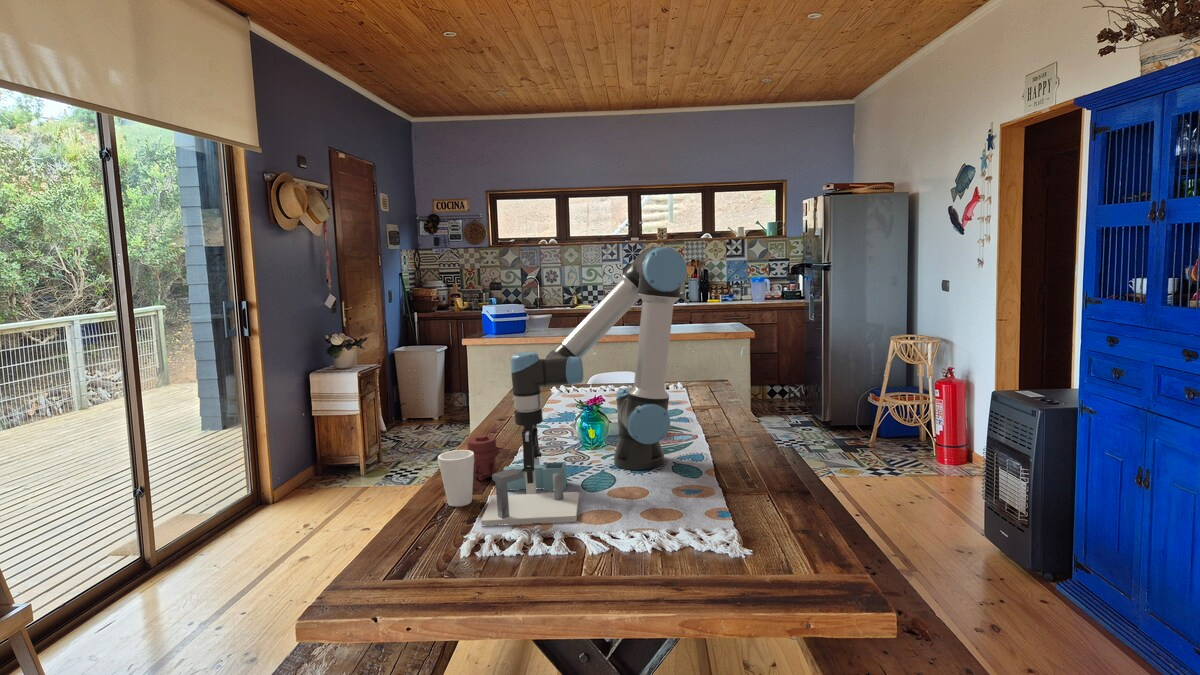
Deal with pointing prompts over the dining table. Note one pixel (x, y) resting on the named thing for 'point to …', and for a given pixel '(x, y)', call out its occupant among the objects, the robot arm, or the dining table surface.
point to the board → (536, 507)
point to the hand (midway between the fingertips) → (533, 486)
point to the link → (540, 476)
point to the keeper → (504, 489)
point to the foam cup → (457, 476)
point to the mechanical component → (483, 455)
